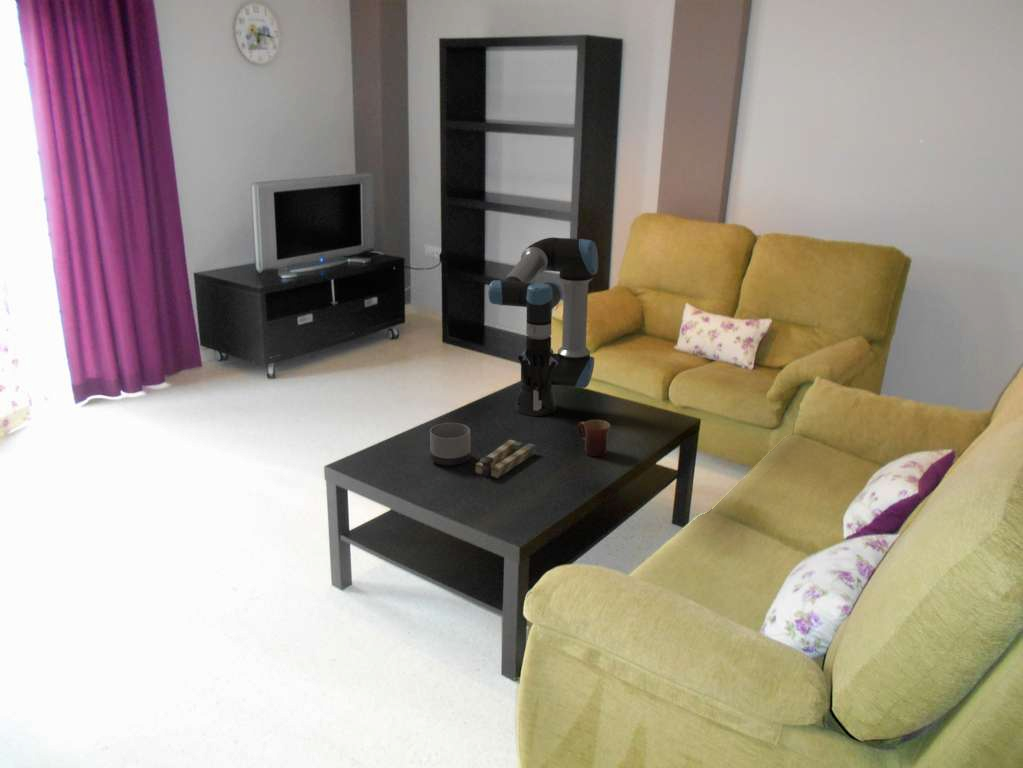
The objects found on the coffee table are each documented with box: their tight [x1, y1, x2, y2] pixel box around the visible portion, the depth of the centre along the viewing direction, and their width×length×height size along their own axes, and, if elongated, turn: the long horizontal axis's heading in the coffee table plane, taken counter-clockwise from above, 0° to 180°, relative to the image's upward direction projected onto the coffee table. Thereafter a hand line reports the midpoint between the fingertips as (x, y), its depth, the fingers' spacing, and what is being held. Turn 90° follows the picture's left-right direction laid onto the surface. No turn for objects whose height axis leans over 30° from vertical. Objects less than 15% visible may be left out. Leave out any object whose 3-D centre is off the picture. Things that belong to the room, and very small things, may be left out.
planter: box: [429, 422, 471, 467], centre depth 269 cm, size 13×13×10 cm
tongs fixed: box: [474, 439, 523, 478], centre depth 268 cm, size 24×6×6 cm, turn 151°
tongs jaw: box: [490, 443, 536, 479], centre depth 267 cm, size 22×2×3 cm, turn 147°
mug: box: [577, 419, 612, 458], centre depth 276 cm, size 12×9×10 cm
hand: (537, 408), depth 258 cm, fingers closed
